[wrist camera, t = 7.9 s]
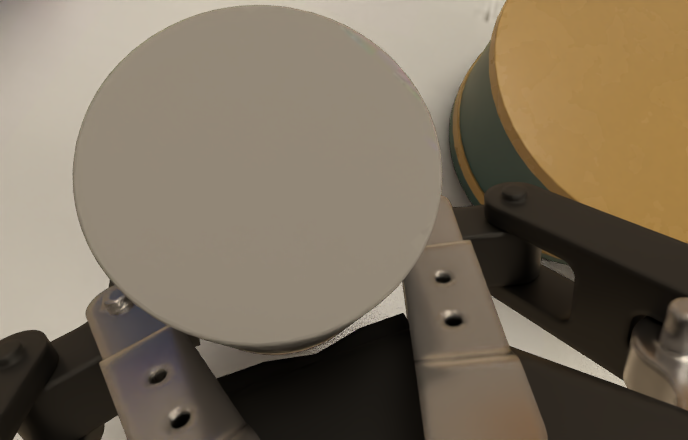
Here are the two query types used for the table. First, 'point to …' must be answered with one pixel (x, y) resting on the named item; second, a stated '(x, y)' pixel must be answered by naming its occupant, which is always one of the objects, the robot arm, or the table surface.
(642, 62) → the tin
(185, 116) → the container
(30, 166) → the table surface
